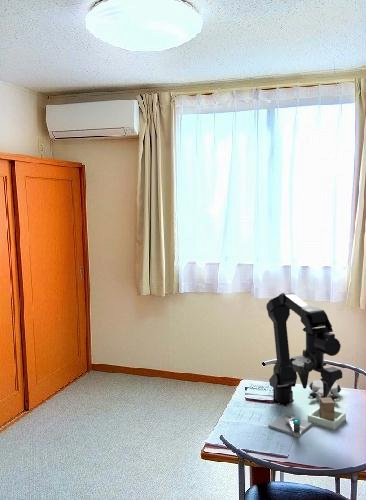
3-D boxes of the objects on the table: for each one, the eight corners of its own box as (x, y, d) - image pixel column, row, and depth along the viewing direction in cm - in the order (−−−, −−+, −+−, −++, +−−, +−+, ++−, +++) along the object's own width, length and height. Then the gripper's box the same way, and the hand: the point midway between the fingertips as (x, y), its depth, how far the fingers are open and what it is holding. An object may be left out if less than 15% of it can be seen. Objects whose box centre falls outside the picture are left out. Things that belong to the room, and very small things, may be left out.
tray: (307, 422, 161) (307, 415, 160) (319, 412, 168) (319, 405, 168) (334, 430, 154) (334, 423, 154) (345, 419, 162) (345, 413, 161)
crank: (284, 420, 160) (284, 406, 159) (294, 420, 160) (294, 405, 159) (292, 438, 148) (292, 422, 147) (303, 438, 148) (303, 422, 147)
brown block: (319, 417, 163) (319, 397, 163) (330, 416, 163) (330, 397, 162) (322, 422, 159) (322, 402, 159) (334, 422, 159) (334, 402, 158)
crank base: (268, 427, 158) (268, 424, 158) (284, 415, 166) (284, 413, 166) (297, 437, 150) (297, 434, 150) (313, 424, 159) (313, 422, 159)
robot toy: (340, 409, 173) (341, 391, 186) (340, 397, 172) (341, 380, 186) (306, 405, 177) (310, 387, 191) (306, 394, 176) (310, 377, 190)
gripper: (277, 344, 158) (277, 389, 160) (318, 358, 142) (318, 408, 143) (301, 339, 164) (301, 382, 165) (343, 352, 148) (343, 399, 149)
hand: (314, 392), depth 156 cm, fingers open, 9 cm apart
